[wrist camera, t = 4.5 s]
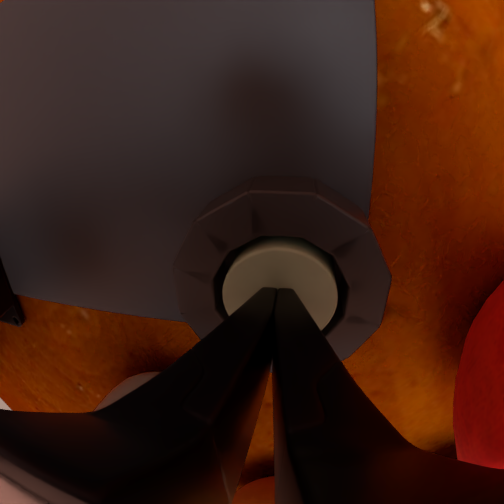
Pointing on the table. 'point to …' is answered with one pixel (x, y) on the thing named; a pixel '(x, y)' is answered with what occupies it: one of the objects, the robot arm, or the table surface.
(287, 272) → the button
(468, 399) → the apple
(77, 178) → the scale
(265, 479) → the fruit
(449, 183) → the table surface
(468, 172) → the table surface
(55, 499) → the robot arm
